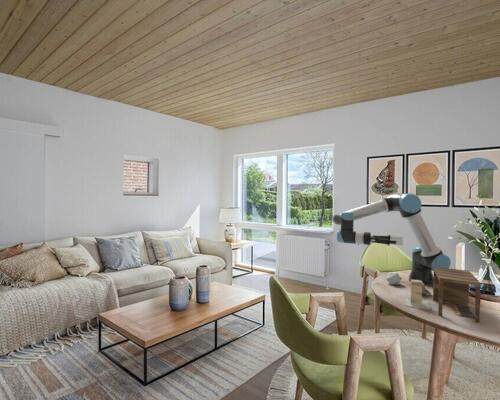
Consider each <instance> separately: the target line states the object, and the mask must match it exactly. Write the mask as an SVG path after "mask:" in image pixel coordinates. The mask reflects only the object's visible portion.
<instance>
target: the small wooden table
mask: <svg viewBox="0 0 500 400" xmlns="http://www.w3.org/2000/svg"><path fill="white" fill-rule="evenodd" d="M432 285H433V287H432V289H433V290H432V301H433V302H438V309H437V310H438V311H437V312H438V314H437V315H438V317H443V303H446V304H447V303H448V304H453V307H454V308H455V310H456V313H457V314H458V316H459V317H460V318H462V317H463V318H468V319H474V322H475V323H479V324H480V321H481V320H480V318H481V317H480V315H481V290H482V289H481V285H482V283H481V282H480V280H478V278H477V277H475V275H474V274H473V273H472V272H471V271H470V270H469V269H467V270H465V269H457V268H456V269H455V268H449V269H448V268H438V267H434V271H433V284H432ZM470 286H475V297H474V298H475V299H474V301H475V303H474V304H475V305H474V313H473V312H472V309H470V307H469V298H470V297H469V296H470V294H469V293H470Z"/></svg>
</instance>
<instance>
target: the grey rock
mask: <svg viewBox="0 0 500 400" xmlns="http://www.w3.org/2000/svg"><path fill="white" fill-rule="evenodd" d="M385 279H386V281H387V282H388V283H389V284H390V285H392V286H394V285H395V286H396V285H397V286H398V285H400V282H401V281H402V276H401V275H400V274H399V273H398V272H397V271H388V273H387V275H386V277H385Z"/></svg>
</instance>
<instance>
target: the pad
mask: <svg viewBox="0 0 500 400" xmlns="http://www.w3.org/2000/svg"><path fill="white" fill-rule="evenodd" d="M404 300H405V301H404V302H405V304H404V305H405V307H409V308H410V307H411V308H416V309H423V310H431V308H430V305H429V302H428V301H424V300H422V306H418V305H412V304H411V302H410V298H404Z"/></svg>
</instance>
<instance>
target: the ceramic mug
mask: <svg viewBox="0 0 500 400" xmlns="http://www.w3.org/2000/svg"><path fill="white" fill-rule="evenodd" d="M419 281H420V280H419ZM423 295H426V296H431V295H432V292H431V291H430V290H428V289H427V288H426V284H424V283H423V282H422V296H423Z"/></svg>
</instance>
